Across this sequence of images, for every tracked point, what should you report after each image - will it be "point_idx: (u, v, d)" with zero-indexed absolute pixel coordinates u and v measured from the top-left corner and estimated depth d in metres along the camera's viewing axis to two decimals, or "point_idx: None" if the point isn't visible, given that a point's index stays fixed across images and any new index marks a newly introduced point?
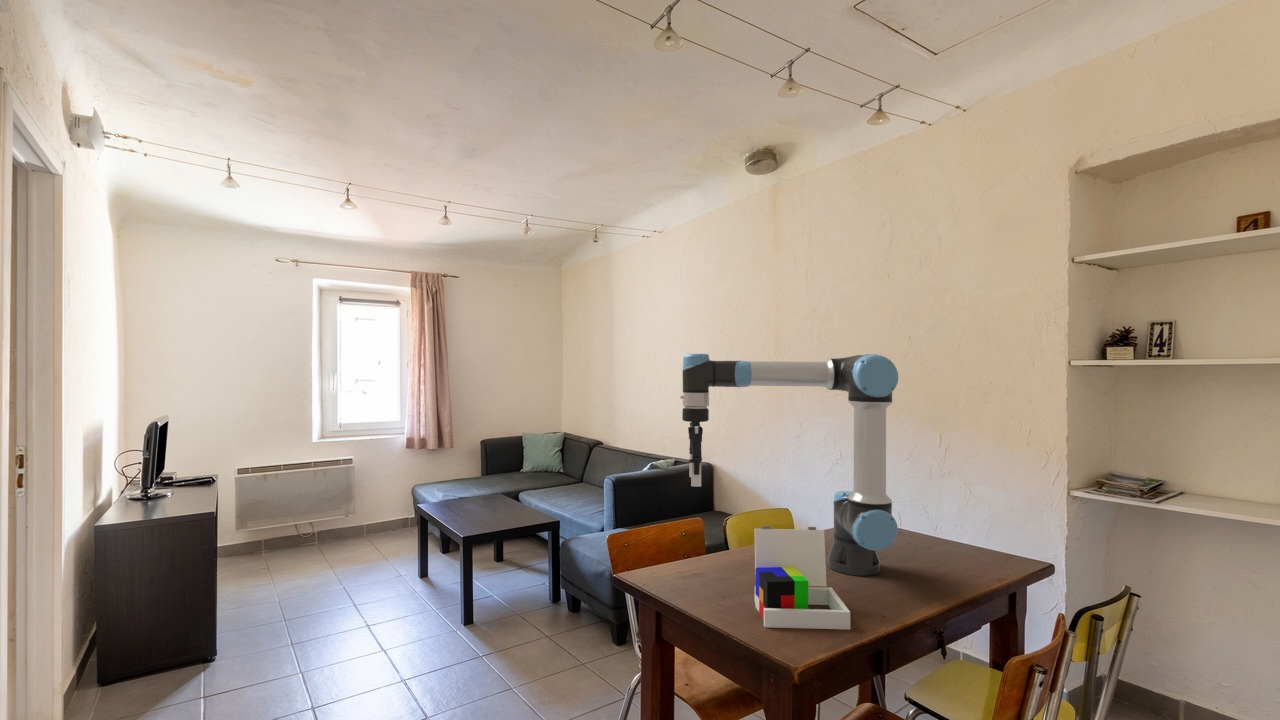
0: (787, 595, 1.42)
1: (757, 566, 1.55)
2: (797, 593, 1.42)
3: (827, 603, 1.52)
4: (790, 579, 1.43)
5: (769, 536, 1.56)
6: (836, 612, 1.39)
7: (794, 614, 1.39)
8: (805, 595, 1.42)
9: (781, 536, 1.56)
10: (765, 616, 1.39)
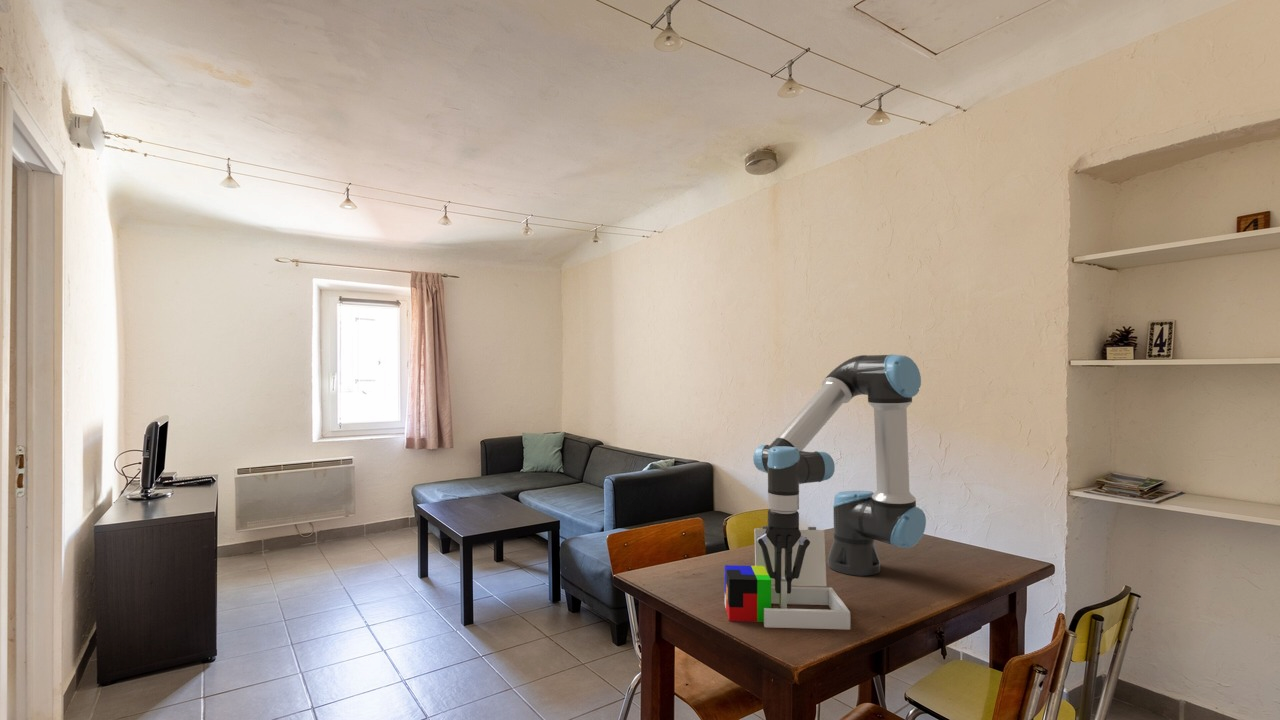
0: (749, 593, 1.42)
1: None
2: (760, 592, 1.42)
3: (827, 603, 1.52)
4: (753, 578, 1.43)
5: None
6: (836, 612, 1.39)
7: (794, 614, 1.39)
8: (768, 594, 1.42)
9: None
10: (765, 616, 1.39)
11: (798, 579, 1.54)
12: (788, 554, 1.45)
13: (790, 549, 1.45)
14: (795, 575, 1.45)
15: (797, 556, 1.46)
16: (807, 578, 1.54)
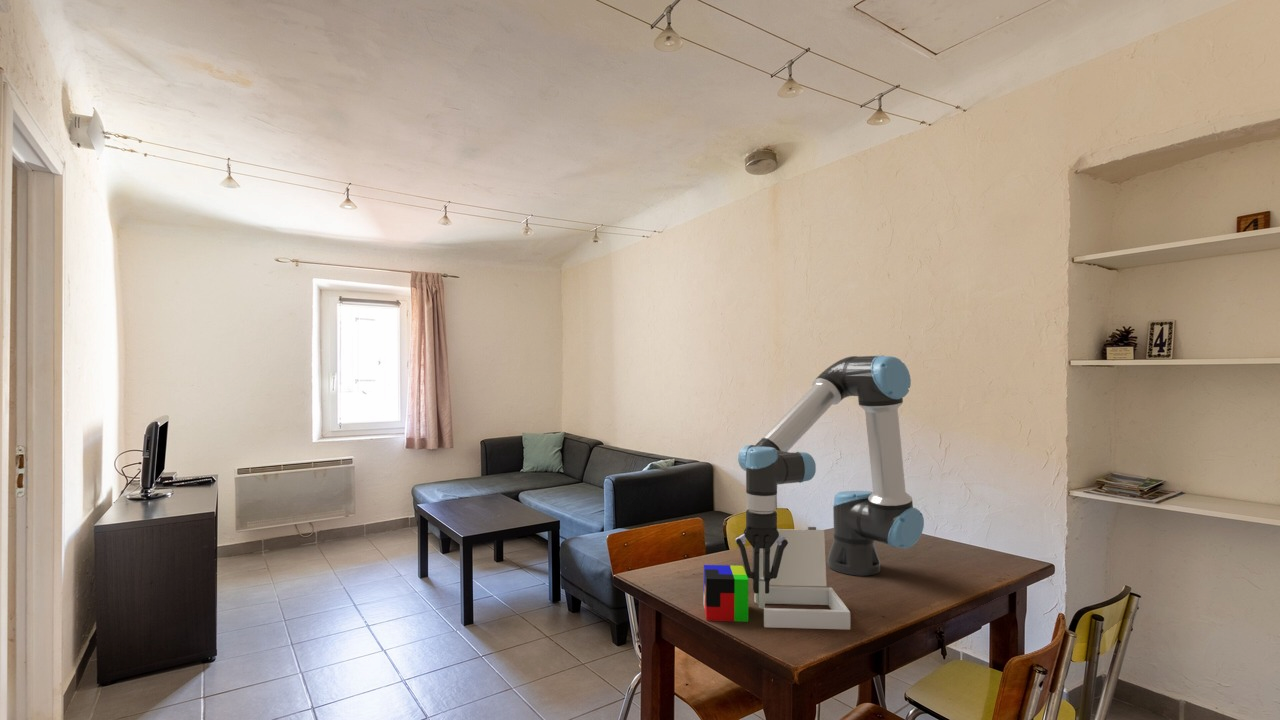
0: (726, 593, 1.43)
1: None
2: (737, 591, 1.42)
3: (827, 603, 1.52)
4: (731, 577, 1.43)
5: None
6: (836, 612, 1.39)
7: (794, 614, 1.39)
8: (745, 594, 1.42)
9: (781, 536, 1.56)
10: (765, 616, 1.39)
11: (798, 579, 1.54)
12: (766, 554, 1.46)
13: (768, 549, 1.45)
14: (773, 575, 1.45)
15: (775, 556, 1.47)
16: (807, 578, 1.54)
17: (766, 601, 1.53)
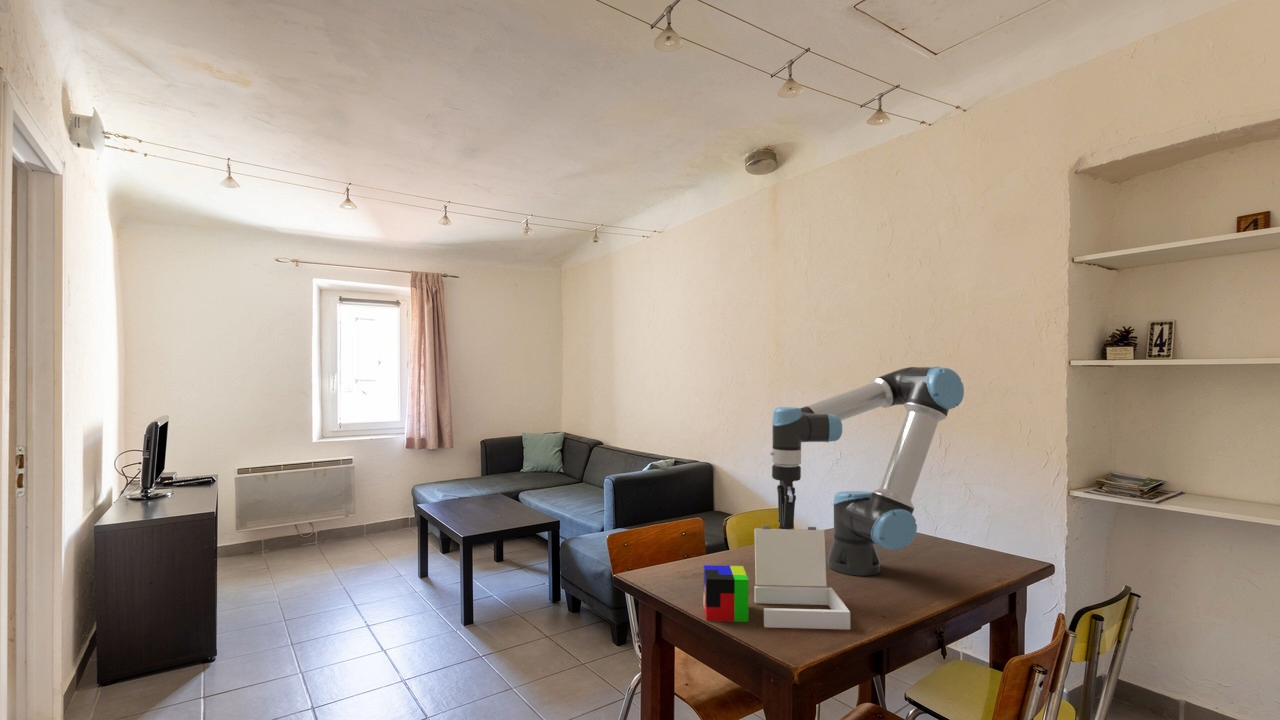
0: (726, 593, 1.43)
1: (757, 566, 1.55)
2: (737, 592, 1.42)
3: (827, 603, 1.52)
4: (731, 578, 1.43)
5: (769, 536, 1.56)
6: (836, 612, 1.39)
7: (794, 614, 1.39)
8: (745, 594, 1.42)
9: (781, 536, 1.56)
10: (765, 616, 1.39)
11: (798, 579, 1.54)
12: None
13: None
14: None
15: None
16: (807, 578, 1.54)
17: (766, 601, 1.53)
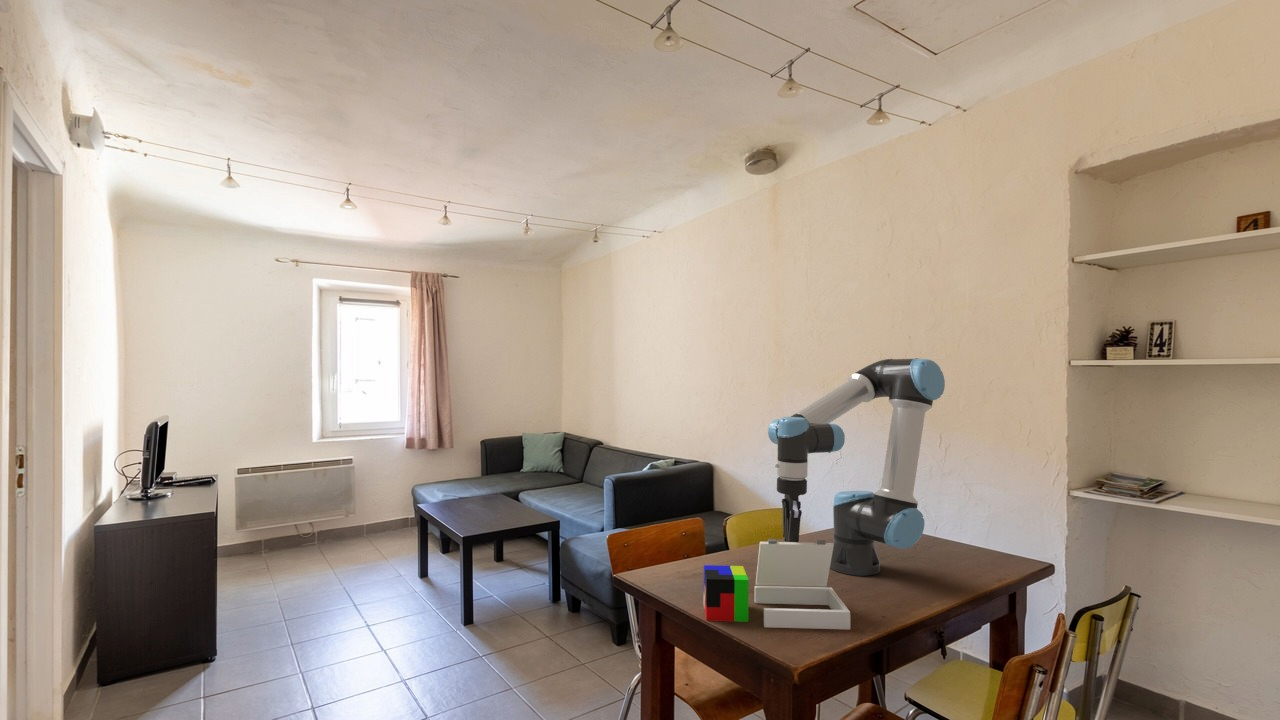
0: (726, 593, 1.43)
1: (759, 571, 1.52)
2: (737, 592, 1.42)
3: (827, 603, 1.52)
4: (731, 578, 1.43)
5: (774, 549, 1.48)
6: (836, 612, 1.39)
7: (794, 614, 1.39)
8: (745, 594, 1.42)
9: (787, 549, 1.48)
10: (765, 616, 1.39)
11: (799, 581, 1.53)
12: None
13: None
14: None
15: None
16: (808, 580, 1.53)
17: (766, 601, 1.53)
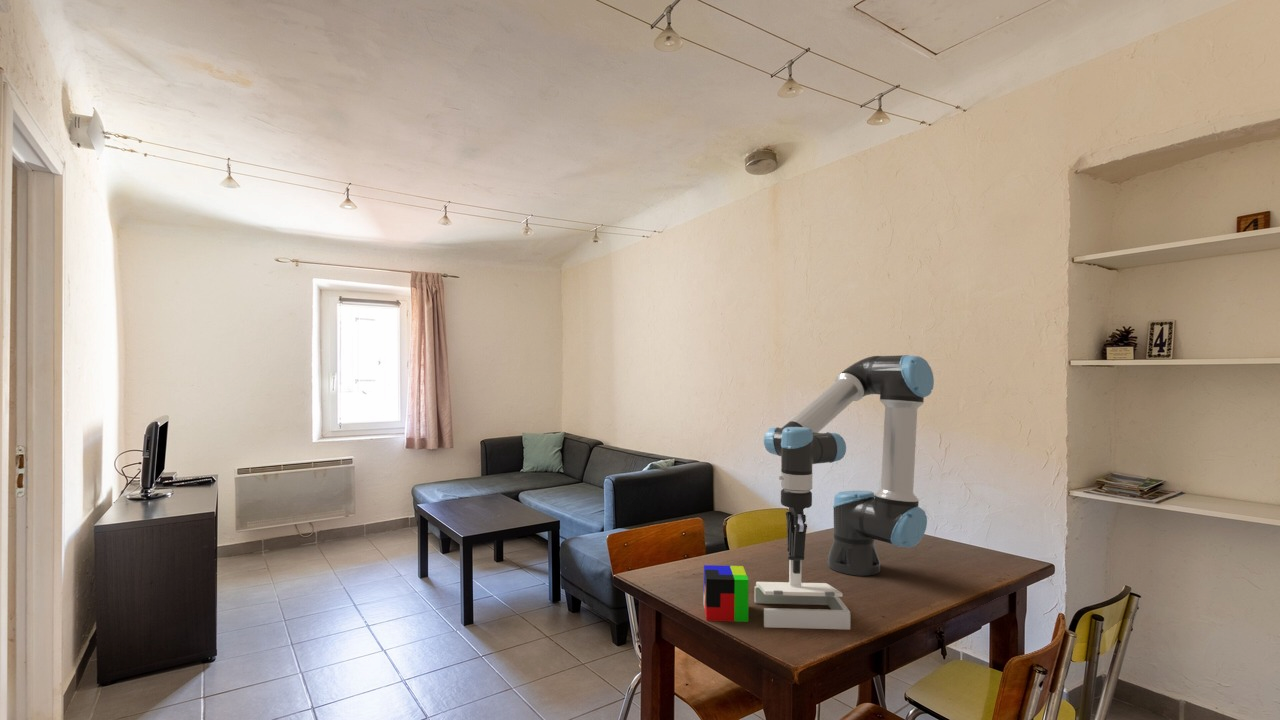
0: (726, 593, 1.43)
1: (760, 587, 1.49)
2: (737, 592, 1.42)
3: (827, 603, 1.52)
4: (731, 578, 1.43)
5: None
6: (836, 612, 1.39)
7: (794, 614, 1.39)
8: (745, 594, 1.42)
9: None
10: (765, 616, 1.39)
11: None
12: None
13: None
14: None
15: None
16: None
17: (766, 601, 1.53)
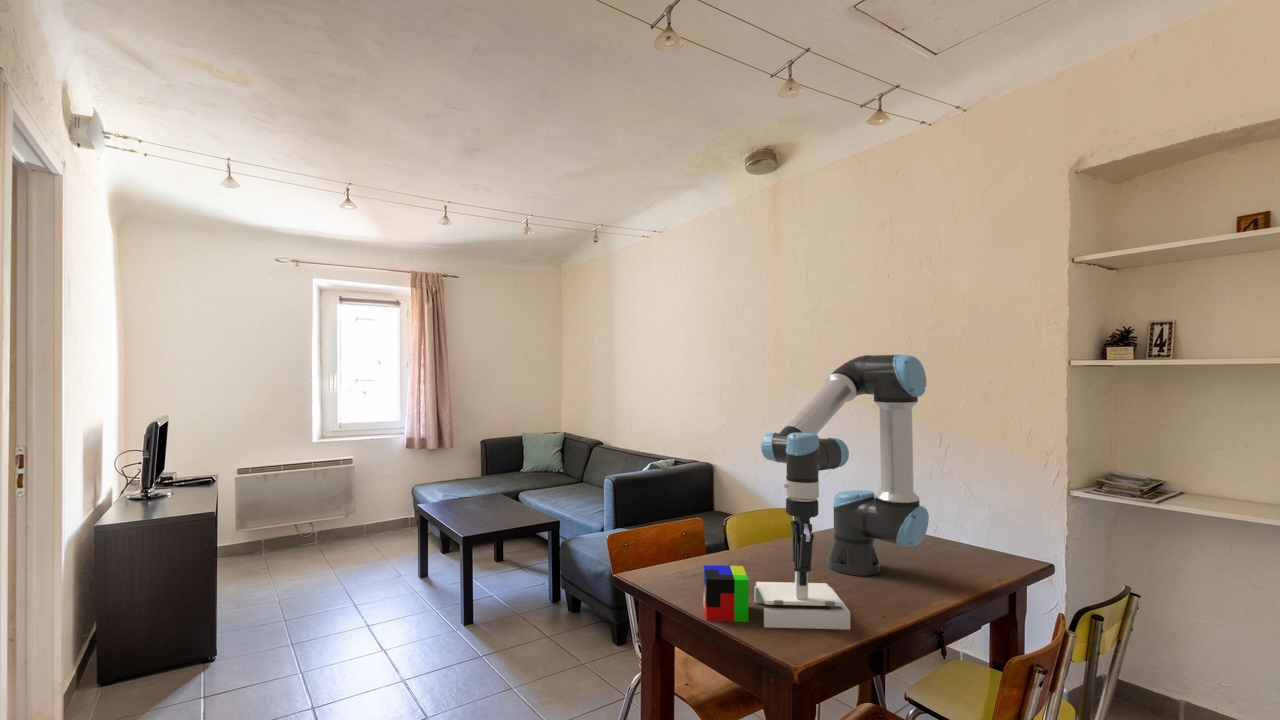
0: (726, 593, 1.43)
1: None
2: (737, 592, 1.42)
3: None
4: (731, 578, 1.43)
5: None
6: (836, 612, 1.39)
7: (794, 614, 1.39)
8: (745, 594, 1.42)
9: None
10: (765, 616, 1.39)
11: None
12: None
13: None
14: None
15: None
16: None
17: None
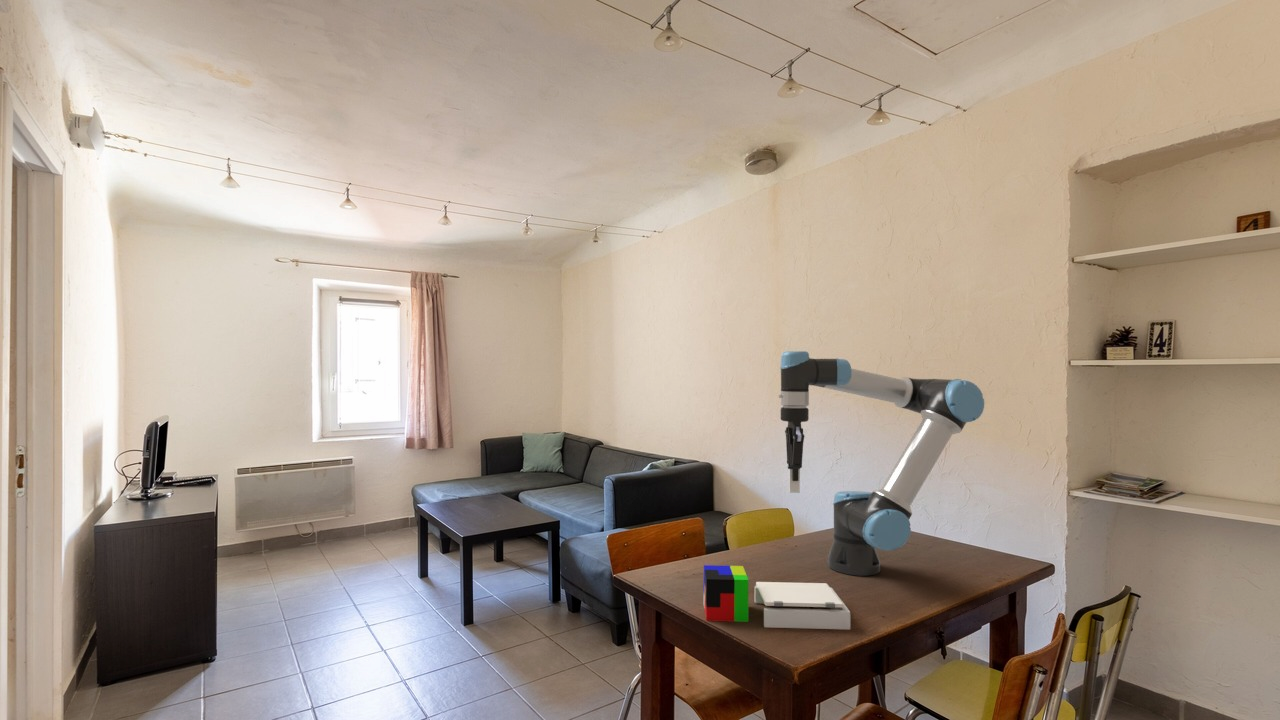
0: (726, 593, 1.43)
1: None
2: (737, 592, 1.42)
3: None
4: (731, 578, 1.43)
5: None
6: (836, 612, 1.39)
7: (794, 614, 1.39)
8: (745, 594, 1.42)
9: None
10: (765, 616, 1.39)
11: None
12: None
13: None
14: None
15: None
16: None
17: None
